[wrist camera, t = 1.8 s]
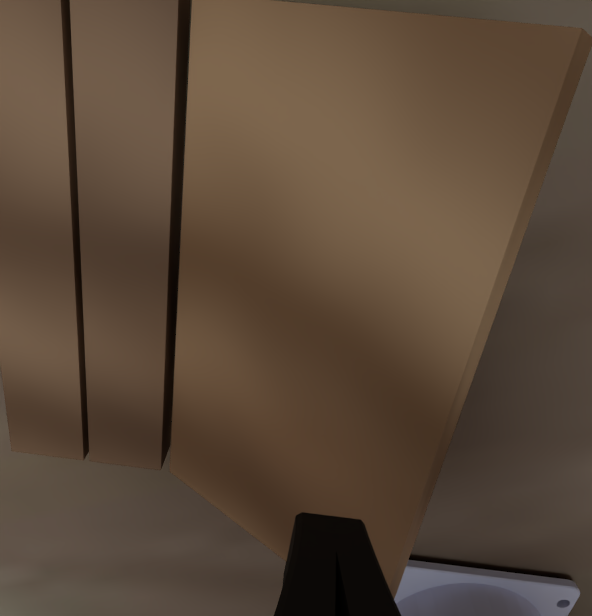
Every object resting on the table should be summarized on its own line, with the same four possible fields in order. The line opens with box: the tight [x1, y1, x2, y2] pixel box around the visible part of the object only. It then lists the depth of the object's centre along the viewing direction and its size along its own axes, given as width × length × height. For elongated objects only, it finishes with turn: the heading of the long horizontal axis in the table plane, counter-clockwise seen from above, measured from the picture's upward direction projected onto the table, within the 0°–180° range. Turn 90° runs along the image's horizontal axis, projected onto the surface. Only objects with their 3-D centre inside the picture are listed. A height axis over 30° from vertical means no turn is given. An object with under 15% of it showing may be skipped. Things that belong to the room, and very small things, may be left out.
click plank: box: [170, 0, 592, 598], centre depth 13 cm, size 14×8×1 cm
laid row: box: [0, 0, 190, 470], centre depth 15 cm, size 14×5×1 cm, turn 172°
